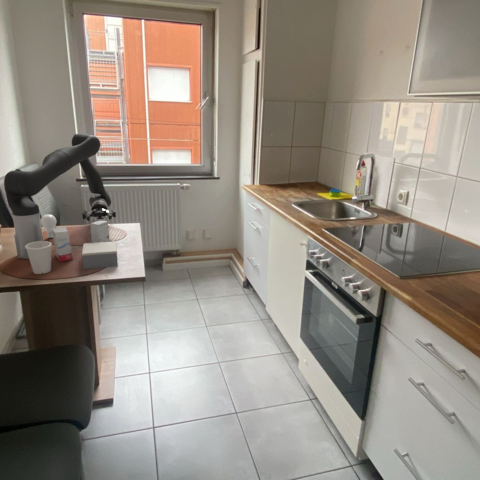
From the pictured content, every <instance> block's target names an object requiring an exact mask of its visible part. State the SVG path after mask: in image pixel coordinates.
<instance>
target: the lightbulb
mask: <svg viewBox="0 0 480 480" xmlns="http://www.w3.org/2000/svg"><path fill="white" fill-rule="evenodd" d="M40 219H41V226H42V227H43V228H44V229H45V232H46V236H47V238H48V239H53V232H52V228H53V227H56V225H57V219H56V217H55V216H54V215H53V214H49V213H48V214H47V213H46V214H44V215H42V216H41V217H40Z"/></svg>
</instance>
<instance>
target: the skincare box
mask: <svg viewBox="0 0 480 480" xmlns="http://www.w3.org/2000/svg"><path fill="white" fill-rule="evenodd" d="M108 221H109V220H108ZM108 221H107V220H103V219H99V220H97V221H94V222H90V225H89V226H90V234H91V235H90V236H91V237H90V238H91V243H97V242H111V241H110V232H109V231H110V230H109V229H110V228H109V222H108Z"/></svg>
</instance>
